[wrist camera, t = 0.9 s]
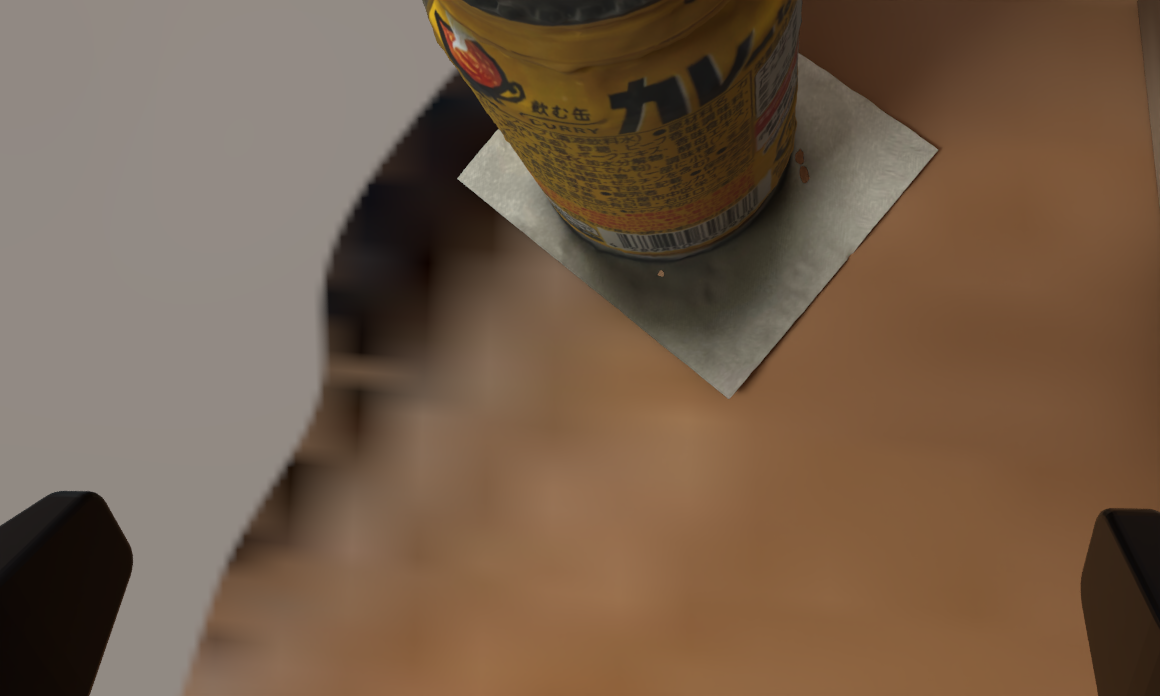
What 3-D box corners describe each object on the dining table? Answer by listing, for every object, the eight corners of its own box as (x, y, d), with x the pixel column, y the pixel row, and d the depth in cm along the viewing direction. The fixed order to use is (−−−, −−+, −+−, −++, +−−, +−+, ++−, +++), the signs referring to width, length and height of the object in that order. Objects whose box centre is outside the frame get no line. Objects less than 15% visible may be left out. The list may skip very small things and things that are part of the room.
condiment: (650, -47, 25) (542, -537, 13) (937, 152, 23) (1110, -218, 11) (459, 181, 25) (182, -106, 13) (729, 401, 23) (684, 292, 11)
